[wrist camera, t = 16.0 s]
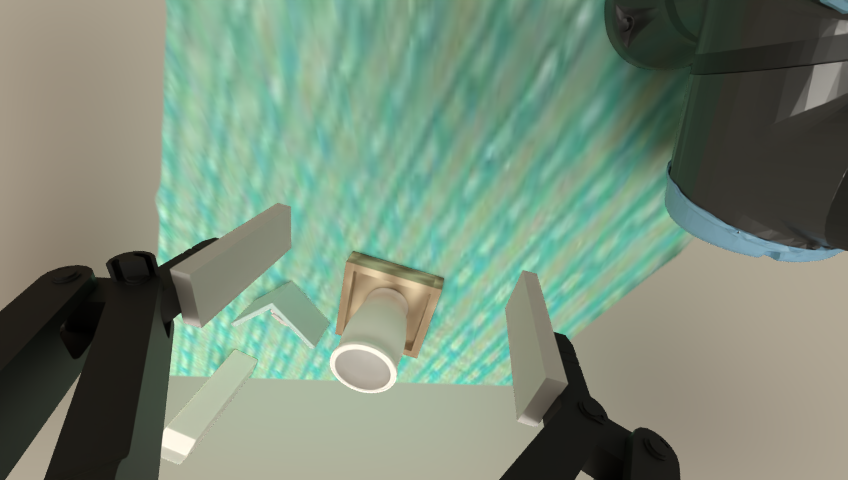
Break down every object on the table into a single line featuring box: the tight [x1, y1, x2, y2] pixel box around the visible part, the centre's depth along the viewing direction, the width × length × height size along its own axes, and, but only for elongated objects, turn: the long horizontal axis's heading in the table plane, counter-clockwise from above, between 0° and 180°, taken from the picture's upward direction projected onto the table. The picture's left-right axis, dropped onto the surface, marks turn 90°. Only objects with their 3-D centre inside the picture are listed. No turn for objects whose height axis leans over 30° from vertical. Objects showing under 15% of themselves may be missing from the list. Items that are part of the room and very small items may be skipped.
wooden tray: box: [335, 251, 444, 358], centre depth 57 cm, size 17×18×4 cm
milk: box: [161, 349, 258, 465], centre depth 65 cm, size 6×6×22 cm
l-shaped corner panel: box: [231, 281, 330, 349], centre depth 61 cm, size 12×12×8 cm
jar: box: [330, 288, 408, 393], centre depth 51 cm, size 11×10×15 cm
